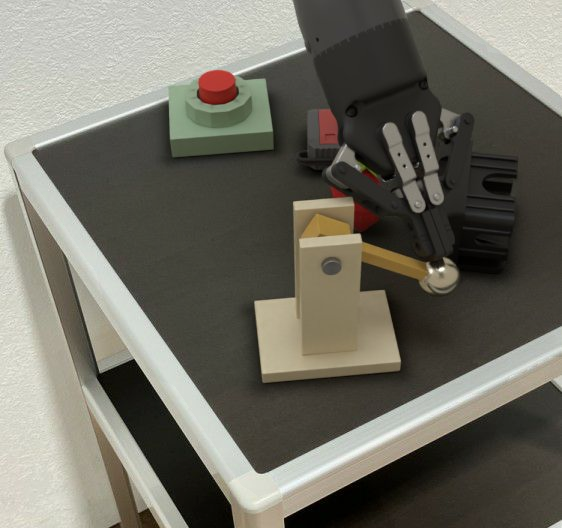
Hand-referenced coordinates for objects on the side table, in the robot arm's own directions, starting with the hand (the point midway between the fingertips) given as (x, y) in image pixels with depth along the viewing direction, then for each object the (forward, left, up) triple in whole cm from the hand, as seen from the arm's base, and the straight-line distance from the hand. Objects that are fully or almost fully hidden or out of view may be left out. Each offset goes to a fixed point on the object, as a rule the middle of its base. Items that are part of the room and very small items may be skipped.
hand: (440, 257), depth 73 cm
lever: (+5, 0, -1) cm, 5 cm away
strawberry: (+4, -13, -8) cm, 16 cm away
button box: (+16, -30, -8) cm, 35 cm away
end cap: (-5, -11, -8) cm, 15 cm away
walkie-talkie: (-1, -23, -8) cm, 25 cm away
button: (+16, -30, -5) cm, 34 cm away
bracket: (+9, 0, -8) cm, 12 cm away
